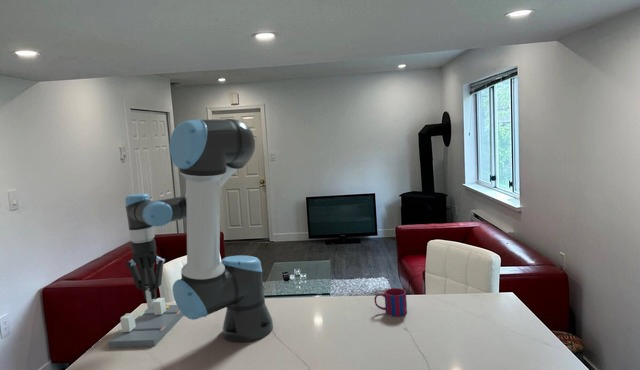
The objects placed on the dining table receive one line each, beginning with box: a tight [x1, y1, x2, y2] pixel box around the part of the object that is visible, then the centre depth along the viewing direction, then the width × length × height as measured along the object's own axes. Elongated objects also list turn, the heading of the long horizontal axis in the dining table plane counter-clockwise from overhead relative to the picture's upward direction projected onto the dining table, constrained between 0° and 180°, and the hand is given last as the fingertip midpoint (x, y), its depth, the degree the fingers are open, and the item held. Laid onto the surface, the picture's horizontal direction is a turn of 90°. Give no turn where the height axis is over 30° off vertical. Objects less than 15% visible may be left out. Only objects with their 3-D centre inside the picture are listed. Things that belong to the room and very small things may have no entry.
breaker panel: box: [108, 304, 185, 349], centre depth 137 cm, size 26×14×2 cm, turn 175°
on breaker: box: [120, 312, 136, 332], centre depth 131 cm, size 4×2×4 cm
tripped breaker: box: [153, 297, 167, 315], centre depth 143 cm, size 4×2×4 cm
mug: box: [374, 287, 408, 318], centre depth 134 cm, size 7×10×7 cm
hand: (151, 307), depth 143 cm, fingers closed
